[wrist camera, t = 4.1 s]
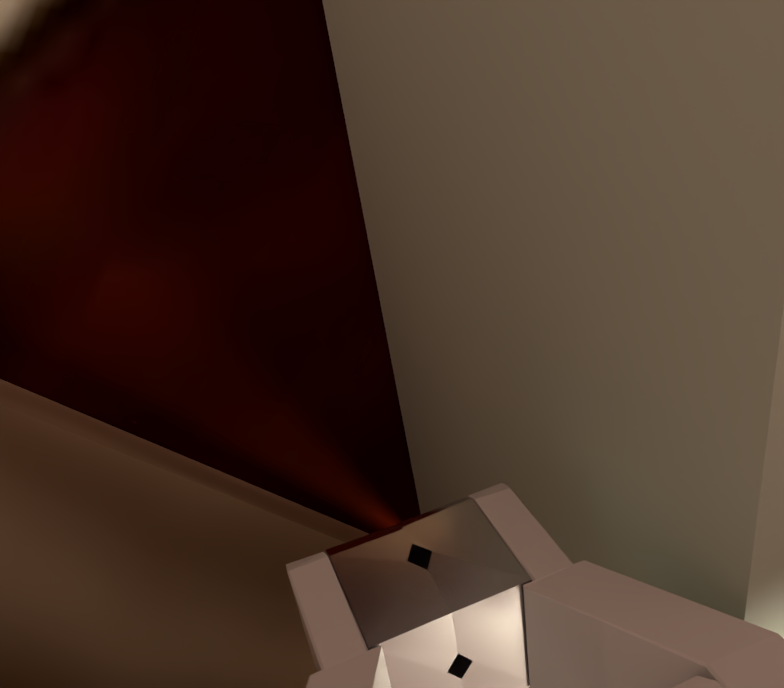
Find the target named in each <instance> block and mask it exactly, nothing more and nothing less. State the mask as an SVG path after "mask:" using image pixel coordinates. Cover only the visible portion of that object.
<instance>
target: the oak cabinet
mask: <svg viewBox="0 0 784 688" xmlns="http://www.w3.org/2000/svg"><path fill="white" fill-rule="evenodd" d="M368 534H369V533H366V532H364V531H361V530H359V529H357V528H354V527H352V526H350V525H347V524H345V523H342V522H340V521H338V520H335V519H333V518H330V517H328V516H326V515H323V514H321V513H319V512H316V511H314V510H311V509H309V508H307V507H304V506H302V505H300V504H297V503H295V502H292V501H290V500H288V499H285V498H283V497H280V496H278V495H276V494H273V493H271V492H269V491H266V490H264V489H261V488H259V487H257V486H254V485H252V484H250V483H247V482H245V481H242V480H240V479H238V478H235V477H233V476H230V475H228V474H226V473H223V472H221V471H219V470H216V469H214V468H211V467H209V466H207V465H204V464H202V463H200V462H197V461H195V460H192V459H190V458H188V457H185V456H183V455H180V454H178V453H176V452H173V451H171V450H169V449H166V448H164V447H161V446H159V445H157V444H154V443H152V442H150V441H147V440H145V439H142V438H140V437H138V436H135V435H133V434H131V433H128V432H126V431H123V430H121V429H119V428H116V427H114V426H111V425H109V424H107V423H104V422H102V421H100V420H97V419H95V418H92V417H90V416H88V415H85V414H83V413H81V412H78V411H76V410H73V409H71V408H69V407H66V406H64V405H61V404H59V403H57V402H54V401H52V400H50V399H47V398H45V397H42V396H40V395H38V394H35V393H33V392H31V391H28V390H26V389H23V388H21V387H19V386H16V385H14V384H11V383H9V382H7V381H4V380H2V379H0V688H306V685H307V682H308V679H309V676H310V675H312V674H314V673H316V672H317V670H316V667H315V664H314V661H313V658H312V654H311V651H310V648H309V645H308V641H307V638H306V635H305V631H304V628H303V625H302V621H301V618H300V614H299V611H298V608H297V604H296V601H295V597H294V594H293V591H292V587H291V584H290V580H289V577H288V574H287V570H286V564H289V563H291V562H294V561H297V560H300V559H303V558H306V557H309V556H312V555H315V554H317V553H320V552H323V551H324V552H325V550H326V549H329V548H332V547H334V546H337V545H340V544H343V543H346V542H349V541H351V540H354V539H357V538H360V537H363V536H366V535H368Z"/></svg>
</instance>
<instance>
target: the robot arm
mask: <svg viewBox="0 0 784 688" xmlns="http://www.w3.org/2000/svg"><path fill="white" fill-rule="evenodd" d="M286 570H287V574H288V577H289V580H290V584H291V587H292V591H293V594H294V597H295V601H296V604H297V608H298V611H299V614H300V618H301V621H302V625H303V628H304V631H305V635H306V638H307V641H308V645H309V648H310V651H311V654H312V658H313V661H314V664H315V667H316V670H317V672H316V673H314V674H312V675H310V676H309V679H308V682H307V685H306V688H529V687H530V688H784V639H783V638H782V637H781V636H780V635H779V634H778V633H775V632H773V631H770V630H767V629H765V628H762V627H759V626H757V625H754V624H751V623H749V622H746V621H744V620H741V619H738V618H736V617H733V616H730V615H728V614H725V613H722V612H720V611H717V610H715V609H712V608H709V607H707V606H704V605H701V604H699V603H696V602H693V601H691V600H688V599H686V598H683V597H680V596H678V595H675V594H672V593H670V592H667V591H665V590H662V589H659V588H657V587H654V586H651V585H649V584H646V583H643V582H641V581H638V580H636V579H633V578H630V577H628V576H625V575H622V574H620V573H617V572H614V571H612V570H609V569H607V568H604V567H601V566H599V565H596V564H593V563H591V562H588V561H585V560H583V561H580V562H578V563H575V564H573V563H572V561H571V560H570V559H569V558H568V557H567V555H566V554H565V553H564V552H563V551H562V549H561V548H560V547H559V546H558V545H557V543H556V542H555V541H554V540H553V539H552V537H551V536H550V535H549V534H548V533H547V531H546V530H545V529H544V528H543V526H542V525H541V524H540V523H539V522H538V520H537V519H536V518H535V517H534V516H533V514H532V513H531V512H530V511H529V510H528V508H527V507H526V506H525V505H524V504H523V502H522V501H521V500H520V499H519V498H518V496H517V495H516V494H515V493H514V492H513V490H512V489H511V488H510V487H509V486H508V485H506V484H504V483H500V484H497V485H494V486H492V487H489V488H487V489H484V490H482V491H479V492H477V493H474V494H472V495H469V496H468V497H467V498H465V497H464V498H462V499H459V500H457V501H454V502H451V503H449V504H446V505H444V506H441V507H439V508H436V509H434V510H431V511H428V512H426V513H423V514H421V515H418V516H416V517H413V518H411V519H408V520H405V521H403V522H400V523H398V524H397V525H394V526H391V527H388V528H385V529H383V530H380V531H377V532H374V533H371V534H368V535H366V536H363V537H360V538H357V539H354V540H351V541H349V542H346V543H343V544H340V545H337V546H334V547H332V548H329V549H326V550H325V552H324V551H323V552H320V553H317V554H315V555H312V556H309V557H306V558H303V559H300V560H297V561H294V562H291V563H289V564H286Z"/></svg>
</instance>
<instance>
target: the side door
mask: <svg viewBox="0 0 784 688" xmlns="http://www.w3.org/2000/svg"><path fill="white" fill-rule="evenodd" d="M322 2H323V7H324V12H325V18H326V23H327V28H328V33H329V38H330V44H331V49H332V54H333V59H334V65H335V70H336V75H337V80H338V85H339V91H340V96H341V101H342V106H343V111H344V117H345V122H346V127H347V132H348V137H349V143H350V148H351V153H352V158H353V164H354V169H355V174H356V179H357V184H358V190H359V195H360V200H361V205H362V210H363V216H364V221H365V226H366V231H367V237H368V242H369V247H370V252H371V257H372V263H373V268H374V273H375V278H376V283H377V289H378V294H379V299H380V304H381V309H382V315H383V320H384V325H385V330H386V336H387V341H388V346H389V351H390V356H391V362H392V367H393V372H394V377H395V382H396V388H397V393H398V398H399V403H400V408H401V414H402V419H403V424H404V429H405V435H406V440H407V445H408V450H409V455H410V461H411V466H412V471H413V476H414V481H415V487H416V492H417V497H418V502H419V508H420V513H421V514H423V513H426V512H428V511H431V510H434V509H436V508H439V507H441V506H444V505H446V504H449V503H451V502H454V501H457V500H459V499H462V498H464V497H465V498H467V497H468V496H469V495H472V494H474V493H477V492H479V491H482V490H484V489H487V488H489V487H492V486H494V485H497V484H500V483H504V484H506V485H508V486H509V487H510V488H511V489H512V490H513V492H514V493H515V494H516V495H517V496H518V498H519V499H520V500H521V501H522V502H523V504H524V505H525V506H526V507H527V508H528V510H529V511H530V512H531V513H532V514H533V516H534V517H535V518H536V519H537V520H538V522H539V523H540V524H541V525H542V526H543V528H544V529H545V530H546V531H547V533H548V534H549V535H550V536H551V537H552V539H553V540H554V541H555V542H556V543H557V545H558V546H559V547H560V548H561V549H562V551H563V552H564V553H565V554H566V555H567V557H568V558H569V559H570V560H571V561H572V563H573V564H575V563H578V562H580V561H583V560H585V561H588V562H591V563H593V564H596V565H599V566H601V567H604V568H607V569H609V570H612V571H614V572H617V573H620V574H622V575H625V576H628V577H630V578H633V579H636V580H638V581H641V582H643V583H646V584H649V585H651V586H654V587H657V588H659V589H662V590H665V591H667V592H670V593H672V594H675V595H678V596H680V597H683V598H686V599H688V600H691V601H693V602H696V603H699V604H701V605H704V606H707V607H709V608H712V609H715V610H717V611H720V612H722V613H725V614H728V615H730V616H733V617H736V618H738V619H741V620H744V621H746V622H749V623H751V624H754V625H757V626H759V627H762V628H765V629H767V630H770V631H773V632H775V633H778V634H779V635H780V636H781V637H782V638H783V639H784V0H322ZM529 688H530V687H529Z"/></svg>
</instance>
